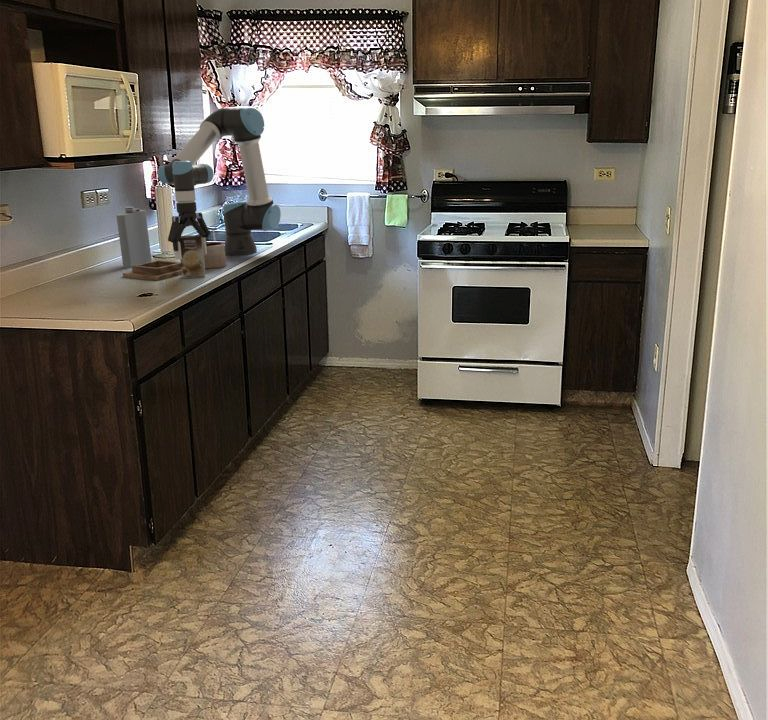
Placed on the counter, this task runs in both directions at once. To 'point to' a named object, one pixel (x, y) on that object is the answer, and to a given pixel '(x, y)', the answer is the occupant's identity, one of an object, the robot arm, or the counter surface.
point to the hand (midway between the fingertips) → (191, 256)
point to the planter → (215, 255)
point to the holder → (155, 270)
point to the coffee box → (192, 256)
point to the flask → (133, 237)
